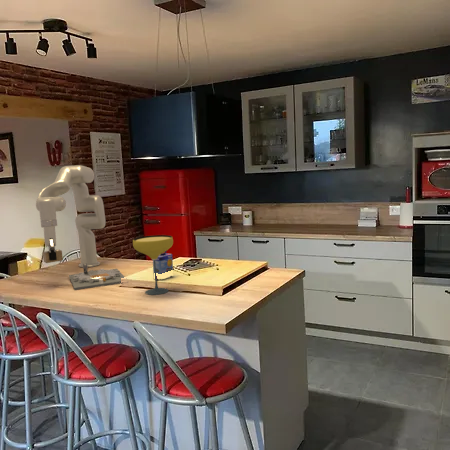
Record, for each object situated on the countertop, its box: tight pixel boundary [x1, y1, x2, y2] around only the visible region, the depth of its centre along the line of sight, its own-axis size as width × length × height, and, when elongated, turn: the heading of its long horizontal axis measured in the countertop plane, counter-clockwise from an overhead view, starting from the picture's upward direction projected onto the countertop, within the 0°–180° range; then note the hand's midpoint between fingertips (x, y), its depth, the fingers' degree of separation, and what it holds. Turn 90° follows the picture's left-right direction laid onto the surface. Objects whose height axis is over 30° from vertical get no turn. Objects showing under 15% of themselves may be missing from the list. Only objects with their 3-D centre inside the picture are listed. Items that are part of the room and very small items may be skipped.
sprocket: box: [73, 264, 121, 283], centre depth 246 cm, size 24×24×6 cm
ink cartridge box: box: [152, 251, 174, 274], centre depth 241 cm, size 10×6×14 cm, turn 144°
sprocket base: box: [68, 268, 126, 291], centre depth 247 cm, size 32×26×3 cm
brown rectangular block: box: [42, 248, 64, 264], centre depth 235 cm, size 5×8×5 cm, turn 127°
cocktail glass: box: [132, 234, 174, 296], centre depth 215 cm, size 18×18×25 cm
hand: (52, 258), depth 236 cm, fingers closed on brown rectangular block, 5 cm apart
